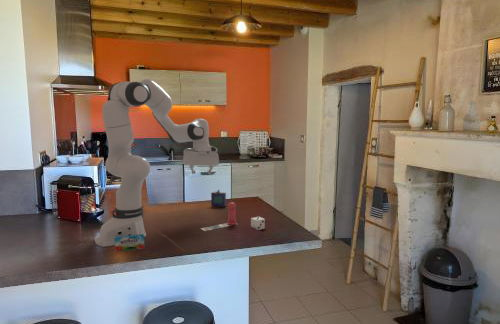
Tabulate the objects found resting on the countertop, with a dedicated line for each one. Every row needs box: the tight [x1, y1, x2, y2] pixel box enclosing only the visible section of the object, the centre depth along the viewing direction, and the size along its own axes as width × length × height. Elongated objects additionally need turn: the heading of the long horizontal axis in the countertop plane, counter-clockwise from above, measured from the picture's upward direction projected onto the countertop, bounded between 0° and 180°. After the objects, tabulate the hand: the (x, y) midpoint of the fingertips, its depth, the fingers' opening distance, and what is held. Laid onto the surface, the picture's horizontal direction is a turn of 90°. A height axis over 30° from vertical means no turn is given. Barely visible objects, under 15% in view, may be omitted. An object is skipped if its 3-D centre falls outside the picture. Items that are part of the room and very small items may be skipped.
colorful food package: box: [114, 234, 146, 253], centre depth 150 cm, size 12×2×6 cm, turn 108°
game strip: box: [200, 222, 238, 232], centre depth 179 cm, size 22×12×1 cm, turn 125°
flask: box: [210, 189, 227, 208], centre depth 220 cm, size 9×3×11 cm, turn 88°
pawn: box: [226, 201, 237, 226], centre depth 183 cm, size 5×5×11 cm
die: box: [250, 216, 266, 231], centre depth 179 cm, size 5×5×5 cm
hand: (201, 173), depth 193 cm, fingers open, 8 cm apart
